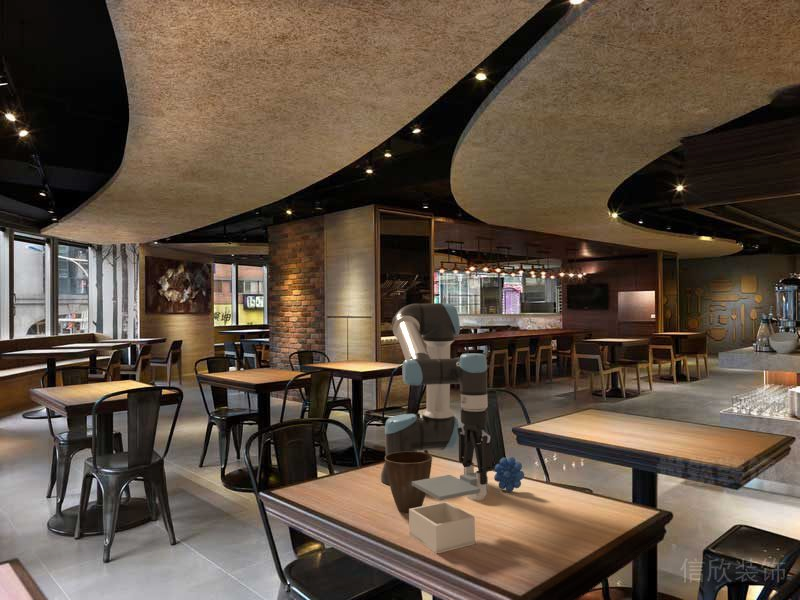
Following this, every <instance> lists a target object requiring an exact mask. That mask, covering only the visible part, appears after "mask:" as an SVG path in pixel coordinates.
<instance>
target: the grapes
mask: <svg viewBox="0 0 800 600" xmlns="http://www.w3.org/2000/svg"><path fill="white" fill-rule="evenodd" d="M522 468H523V464H522V463H521V462H520V461H516V458H515V457H513V456H509V457H508V458H507V457H501V458H500V460H499V463H497V464H496V465H495V466H494V471H495V474H494V475H493V480H494V481H495V482H497V483H498V488H499V489H500V490H506V492H509V493H511V492H513V491H514V489H519V488H520V487H521V486H522V482H521V481H522V480H523V479H524V478H525V472H524V471H523V470H522Z"/></svg>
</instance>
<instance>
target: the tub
mask: <svg viewBox="0 0 800 600" xmlns="http://www.w3.org/2000/svg"><path fill="white" fill-rule="evenodd" d="M475 521H476V520H475V516H474V515H472V514H470V513H468V512H466V511H464V510H462V509H460V508H458V507H457V506H456V505H453V504H451V503H449V502H447V501H442V502H436V503H431V504H426V505H422V506H421V507H416V508H411V509H409V512H408V523H409V524H408V530H409V533H408V535H409V536H410V537H412V538H413V539H414V540H416V541H418V542H419V543H420V544H422V545H423V546H425V547H426V548H427V549H429V550H430V551H432V552H433V553H434V554H436V555H437V553H438V554H441V553H445V552H449V551H452V550H456V549H461V548H464V547H469V546H472V545H475V544H476V522H475Z"/></svg>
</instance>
